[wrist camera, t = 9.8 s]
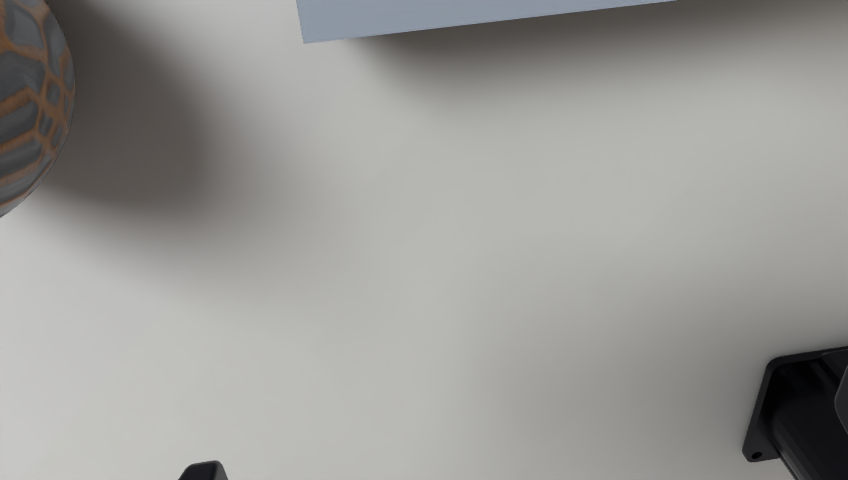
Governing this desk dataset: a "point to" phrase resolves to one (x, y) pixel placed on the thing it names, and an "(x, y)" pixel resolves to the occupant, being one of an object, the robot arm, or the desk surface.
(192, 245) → the desk surface
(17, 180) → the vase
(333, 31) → the socket block
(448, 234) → the desk surface
